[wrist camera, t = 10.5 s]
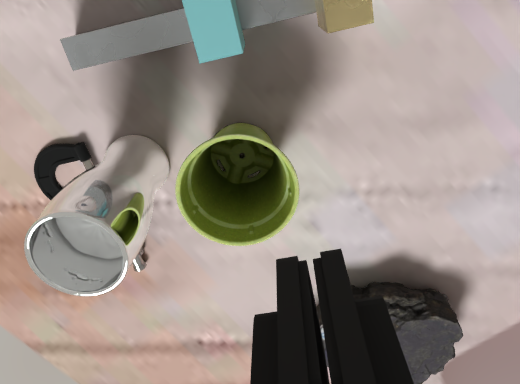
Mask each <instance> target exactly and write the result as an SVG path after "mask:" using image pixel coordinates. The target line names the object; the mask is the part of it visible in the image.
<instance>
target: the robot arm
mask: <svg viewBox="0 0 520 384" xmlns="http://www.w3.org/2000/svg"><path fill="white" fill-rule="evenodd" d="M320 255H321V258H317V259H313V264H314V271H315V277H316V284H317V291H318V297H319V304H320V311H321V318H322V324H323V331H324V338H325V344H326V351H327V358H328V365H329V371H330V378H331V384H414V382H413V379H412V377H411V374H410V371H409V368H408V365H407V362H406V360H405V357H404V354H403V351H402V348H401V346H400V343H399V340H398V337H397V334H396V331H395V329H394V326H393V323H392V320H391V317H390V314H389V312H388V309H387V306H386V303H385V301H384V298H383V297H382V296H377V297H370V298H364V299H357V300H354V297H353V293H352V289H351V285H350V281H349V277H348V274H347V270H346V266H345V262H344V258H343V254H342V251H341V249H336V250H330V251H324V252H320ZM276 271H277V312H271V313H264V314H257V315H255V317H254V324H253V344H252V363H251V383H250V384H329V378H328V371H327V364H326V357H325V350H324V344H323V338H322V333H321V328H320V323H319V319H318V314H317V309H316V304H315V299H314V294H313V290H312V285H311V280H310V275H309V270H308V265H307V261H306V260H304V261H298V257H297V256H294V257H288V258H282V259H277V260H276Z"/></svg>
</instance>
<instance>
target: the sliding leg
mask: <svg viewBox="0 0 520 384" xmlns="http://www.w3.org/2000/svg"><path fill="white" fill-rule="evenodd" d="M182 3H183V6H184V10H185V13H186V17H187V20H188V24H189V28H190V31H191V35H192V38H193V42H194V45H195V49H196V52H197V56H198V60H199V63H204V62H209V61H213V60H217V59H221V58H226V57H230V56H234V55H238V54H243V51H244V47H245V41H244V36H243V32H242V28H241V23H240V19H239V14H238V10H237V6H236V1H235V0H182Z"/></svg>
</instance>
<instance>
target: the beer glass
mask: <svg viewBox="0 0 520 384" xmlns="http://www.w3.org/2000/svg"><path fill="white" fill-rule="evenodd" d="M168 175H169V161H168V158H167V156H166V154H165V152H164V151H163V149H162V148H161V147H160V146H159V145H158V144H157V143H156V142H154V141H153V140H151V139H149V138H147V137H144V136H140V135H127V136H123V137H120V138H118V139H117V140H115V141H114V142H113V143H112V144H111V145H110V146H109V148H108V149H107V151H106V153H105V156H104V159H103V161H102V162H100V163H99V164H97V165H95V166H93V167H91V168H90V169H88V170H86V171H84V172H83V173H81V174H80V175H78V176H77V177H75V178H74V179H72V180H71V181H70V182H68V183H67V184H66V185H65V186H64V187H63V188H62V189H61V190H60V191H59V192H58V193H57V194H56V195H55V196H54V198H53V199H52V200H51V201H50V202H49V204H48V205H47V206H46V208H45V209H44V210H43V212H42V213H41V214H40V216H39V217H38V219H37V220H36V221H35V223H33V225H32V226H31V227H30V228H29V230H28V232H27V234H26V237H25V241H24V251H25V256H26V259H27V261H28V263H29V265H30V267H31V268H32V270H33V271H34V272H35V274H36V275H37V276H38V277H39V278H40V279H41V280H43V281H44V282H45V283H46V284H48V285H49V286H51V287H53V288H55V289H57V290H59V291H61V292H64V293H67V294H71V295H76V296H96V295H100V294H104V293H106V292H109V291H111V290H112V289H114V288H115V287H117V286H118V285H119V284H120V283H121V282H122V280H123V279H124V277H125V275H126V273H127V271H128V269H129V268H130V266H131V265H132V263H133V261H134V260H135V258H136V256H137V255H138V253H139V251H140V249H141V247H142V245H143V243H144V241H145V238H146V236H147V233H148V230H149V228H150V223H151V219H152V213H153V205H154V196H155V193H156V192H157V191H158V190H159V189H160V188H161V187H162V186H163V185H164V183H165V182H166V180H167V178H168Z"/></svg>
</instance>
